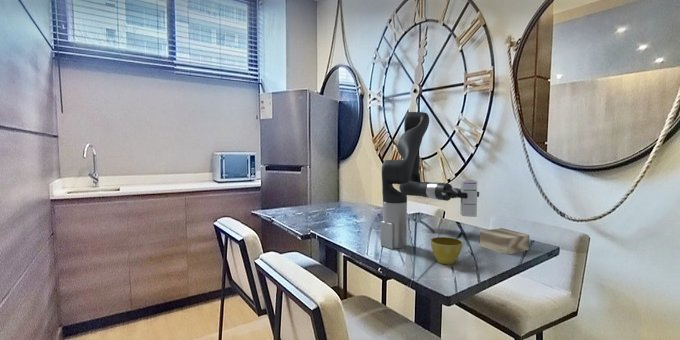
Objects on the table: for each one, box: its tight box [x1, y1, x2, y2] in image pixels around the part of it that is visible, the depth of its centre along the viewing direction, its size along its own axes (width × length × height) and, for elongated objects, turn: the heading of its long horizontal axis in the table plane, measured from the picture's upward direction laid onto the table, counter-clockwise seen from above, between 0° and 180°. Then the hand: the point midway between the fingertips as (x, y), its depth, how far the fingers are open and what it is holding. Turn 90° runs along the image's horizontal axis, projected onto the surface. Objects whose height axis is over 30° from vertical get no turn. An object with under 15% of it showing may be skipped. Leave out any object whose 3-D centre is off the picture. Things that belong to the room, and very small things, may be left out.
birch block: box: [479, 227, 530, 255], centre depth 132 cm, size 12×12×6 cm
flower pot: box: [430, 236, 463, 265], centre depth 116 cm, size 10×10×7 cm
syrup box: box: [460, 179, 478, 218], centre depth 143 cm, size 6×6×14 cm
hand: (473, 195), depth 141 cm, fingers closed on syrup box, 8 cm apart
